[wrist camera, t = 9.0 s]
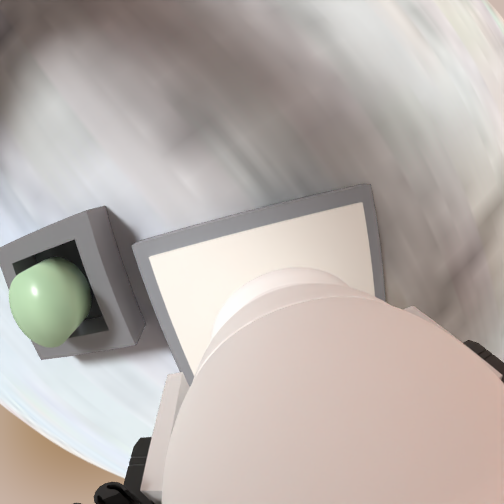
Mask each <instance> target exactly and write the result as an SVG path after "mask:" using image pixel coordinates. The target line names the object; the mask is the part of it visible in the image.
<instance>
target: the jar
mask: <svg viewBox="0 0 504 504" xmlns="http://www.w3.org/2000/svg"><path fill="white" fill-rule="evenodd" d="M162 504H504V383H503V382H502V381H501V380H500V379H499V378H498V376H497V375H496V374H495V373H494V372H493V371H492V370H491V369H490V368H489V367H488V366H487V365H486V364H485V363H484V362H483V361H482V360H481V359H480V358H479V357H478V356H476V355H475V354H474V353H473V352H472V351H471V350H469V349H468V348H467V347H466V346H464V345H463V344H462V343H461V342H459V341H458V340H457V339H455V338H454V337H452V336H451V335H449V334H448V333H446V332H445V331H443V330H442V329H440V328H438V327H437V326H435V325H433V324H432V323H430V322H428V321H426V320H424V319H422V318H420V317H418V316H416V315H414V314H412V313H409V312H407V311H405V310H402V309H400V308H397V307H394V306H391V305H390V304H388V303H386V302H384V301H382V300H381V299H379V298H376V297H374V296H372V295H370V294H367V293H365V292H362V291H359V290H356V289H353V288H350V287H349V286H348V285H347V284H346V283H345V282H343V281H342V280H341V279H339V278H338V277H336V276H334V275H332V274H330V273H327V272H325V271H322V270H318V269H313V268H306V267H291V268H283V269H278V270H274V271H271V272H268V273H265V274H262V275H260V276H258V277H256V278H254V279H252V280H250V281H249V282H247V283H245V284H244V285H242V286H241V287H240V288H239V289H237V290H236V291H235V292H234V293H233V294H232V295H231V296H230V297H229V298H228V299H227V300H226V302H225V303H224V304H223V306H222V307H221V309H220V310H219V312H218V314H217V316H216V318H215V321H214V324H213V327H212V331H211V341H210V344H209V345H208V347H207V349H206V350H205V352H204V354H203V356H202V358H201V361H200V363H199V365H198V368H197V370H196V373H195V376H194V379H193V382H192V384H191V386H190V388H189V390H188V392H187V394H186V396H185V398H184V401H183V403H182V405H181V408H180V410H179V413H178V415H177V418H176V421H175V424H174V427H173V431H172V434H171V438H170V442H169V446H168V450H167V455H166V461H165V467H164V475H163V486H162Z"/></svg>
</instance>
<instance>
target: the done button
mask: <svg viewBox="0 0 504 504" xmlns="http://www.w3.org/2000/svg"><path fill="white" fill-rule="evenodd" d="M9 303H10V308H11V311H12V314H13V317H14V319H15V321H16V323H17V324H18V326H19V328H20V329H21V330H22V331H23V333H24V334H25V335H26V336H27V337H28V338H29V339H31V340H32V341H33V342H35V343H37V344H39V345H41V346H44V347H49V348H53V347H58V346H60V345H62V344H63V343H64V342H65V341H66V340H67V339H68V338H69V336H70V335H71V334H72V333H73V332H74V331H75V330H76V329H77V327H78V326H79V325H80V324H81V323H82V322H83V321H84V320H85V319H86V317H87V316H88V314H89V312H90V309H91V304H92V296H91V290H90V287H89V284H88V282H87V279H86V278H85V276H84V274H83V273H82V272H81V270H80V269H79V268H78V267H77V266H76V265H75V264H73V263H72V262H71V261H69V260H67V259H65V258H61V257H51V258H48V259H46V260H44V261H42V262H40V263H38V264H36V265H34V266H32V267H30V268H29V269H27V270H25V271H23V272H21V273H19V274H18V275H17V276H16V277H15V278H14V279H13V281H12V283H11V285H10V289H9Z"/></svg>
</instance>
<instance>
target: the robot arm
mask: <svg viewBox="0 0 504 504" xmlns="http://www.w3.org/2000/svg"><path fill="white" fill-rule="evenodd" d="M403 310H405V311H407V312H409V313H412V314H414V315H416V316H418V317H420V318H422V319H424V320H426V321H428V322H430V323H432V324H433V325H435V326H437V327H438V328H440V329H442V330H443V331H445V332H446V333H448V334H449V335H451V336H452V337H454V336H453V335H452V334H450V333H449V332H448V331H447V330H445V329H444V328H443V327H441V326H440V325H439V324H437V323H436V322H435V321H433V320H432V319H431V318H429V317H428V316H427V315H425V314H424V313H423V312H421V311H420V310H419V309H417V308H416V307H415V306H410V307H408V308H405V309H403ZM454 338H455V339H457V338H456V337H454ZM457 340H458V339H457ZM458 341H459V342H461V341H460V340H458ZM461 343H462V342H461ZM462 344H463V345H464V346H466V347H467V348H468V349H469V350H471V351H472V352H473V353H474V354H475V355H476V356H478V357H479V358H480V359H481V360H482V361H483V362H484V363H485V364H486V365H487V366H488V367H489V368H490V369H491V370H492V371H493V372H494V373H495V374H496V375H497V376H498V378H499V379H500V380H501V381H502V382H503V383H504V363H503V362H502V361H501V360H500V359H498V358H497V357H496V356H494V355H492V353H491V352H489V351H488V350H486V349H485V348H484V347H483V346H481V345H480V344H479V343H476V342H473V341H470V340H468V341H466V342H464V343H462ZM189 388H190V387H189V385H188V383H187V380H186V378H185V376H184V374H183V372H180V373H174V374H168V375H167V379H166V382H165V386H164V390H163V394H162V398H161V402H160V406H159V410H158V414H157V418H156V422H155V426H154V430H153V434H152V437H146V438H140V439H139V440H138V442H137V443H136V444H135V446H134V448H133V451H132V455H131V458H130V462H129V466H128V470H127V473H126V477H125V481H124V485H122V484H120V483H118V482H109V483H105V484H103V485H102V486H100V487H99V488H98V489H97V491H96V492H95V495H94V502H95V503H96V504H162V486H163V475H164V467H165V461H166V455H167V450H168V446H169V442H170V438H171V434H172V431H173V427H174V424H175V421H176V418H177V415H178V413H179V410H180V408H181V405H182V403H183V401H184V398H185V396H186V394H187V392H188V390H189ZM74 504H81V503H74Z"/></svg>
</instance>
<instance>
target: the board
mask: <svg viewBox="0 0 504 504" xmlns="http://www.w3.org/2000/svg"><path fill="white" fill-rule="evenodd" d="M131 246H132V249H133V252H134V256H135V259H136V262H137V265H138V268H139V270H140V273H141V276H142V279H143V282H144V285H145V287H146V290H147V293H148V296H149V298H150V301H151V304H152V306H153V309H154V311H155V314H156V317H157V319H158V322H159V324H160V327H161V329H162V331H163V334H164V336H165V339H166V341H167V343H168V346H169V348H170V350H171V353H172V355H173V357H174V360H175V362H176V364H177V366H178V368H179V371H180V372H183V374H184V376H185V378H186V380H187V383H188V385H189V387H190V386H191V384H192V382H193V379H194V376H195V373H196V370H197V368H198V365H199V363H200V361H201V358H202V356H203V354H204V352H205V350H206V349H207V347H208V345H209V344H210V341H211V331H212V327H213V324H214V321H215V318H216V316H217V314H218V312H219V310H220V309H221V307H222V306H223V304H224V303H225V302H226V300H227V299H228V298H229V297H230V296H231V295H232V294H233V293H234V292H235V291H236V290H237V289H239V288H240V287H241V286H242V285H244V284H245V283H247V282H249V281H250V280H252V279H254V278H256V277H258V276H260V275H262V274H265V273H268V272H271V271H274V270H278V269H283V268H291V267H306V268H313V269H318V270H322V271H325V272H327V273H330V274H332V275H334V276H336V277H338V278H339V279H341V280H342V281H343V282H345V283H346V284H347V285H348V286H349V287H350V288H353V289H356V290H359V291H362V292H365V293H367V294H370V295H372V296H374V297H376V298H379V299H381V300H382V301H384V302H386V300H385V287H384V275H383V265H382V255H381V247H380V239H379V231H378V224H377V218H376V211H375V205H374V199H373V193H372V188H371V184H360V185H356V186H351V187H346V188H342V189H337V190H333V191H328V192H324V193H319V194H315V195H311V196H307V197H302V198H298V199H294V200H290V201H286V202H281V203H277V204H273V205H269V206H265V207H261V208H257V209H253V210H249V211H245V212H241V213H238V214H234V215H230V216H226V217H222V218H219V219H215V220H211V221H207V222H204V223H200V224H196V225H193V226H189V227H186V228H182V229H179V230H175V231H171V232H168V233H164V234H161V235H158V236H154V237H151V238H147V239H144V240H141V241H137V242H135V243H134V244H133V245H131Z"/></svg>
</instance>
